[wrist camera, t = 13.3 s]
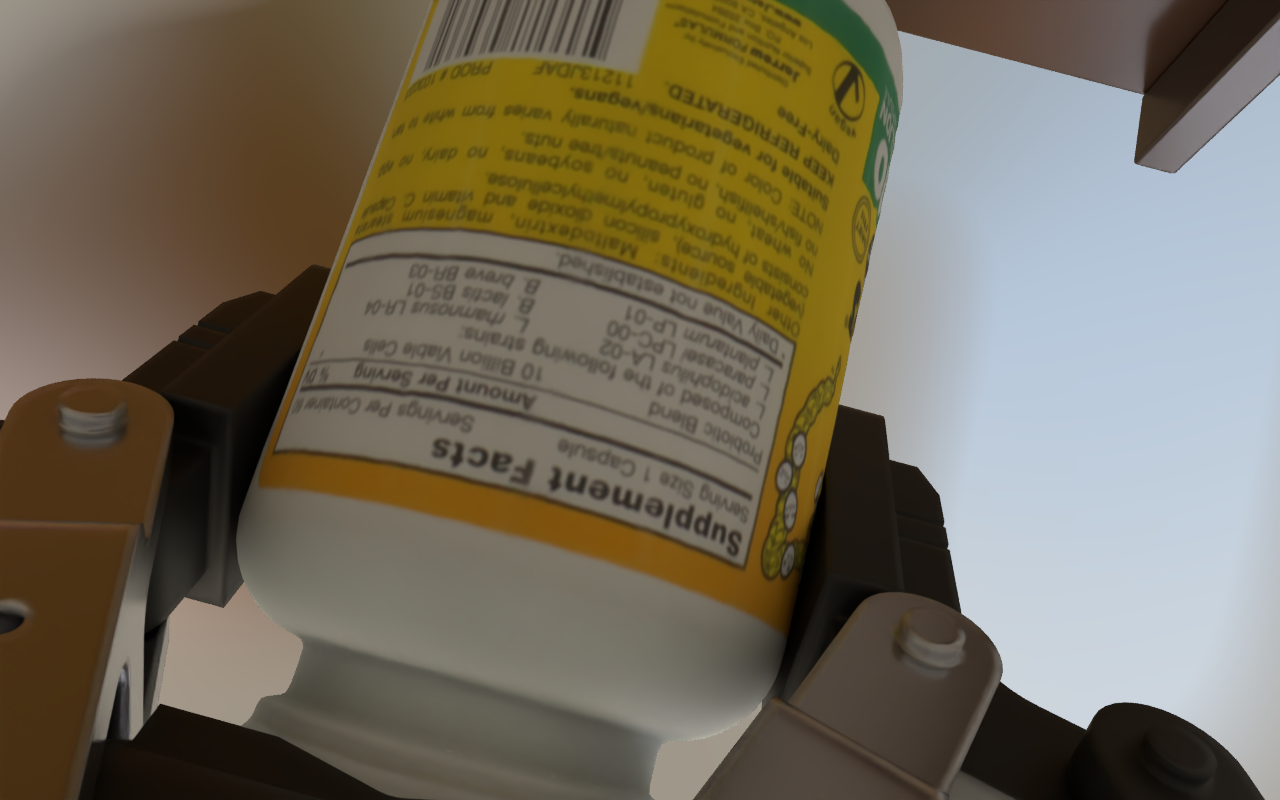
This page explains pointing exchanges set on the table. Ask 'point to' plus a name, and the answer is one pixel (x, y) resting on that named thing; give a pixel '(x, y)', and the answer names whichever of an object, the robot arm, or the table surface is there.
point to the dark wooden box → (1128, 54)
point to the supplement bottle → (572, 390)
